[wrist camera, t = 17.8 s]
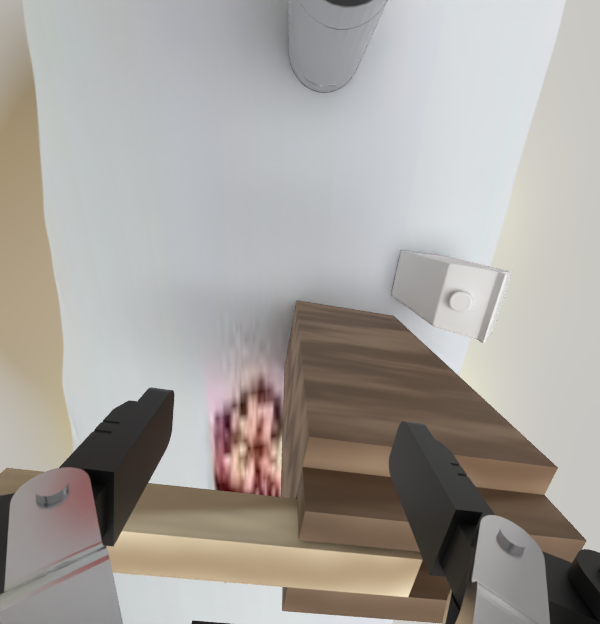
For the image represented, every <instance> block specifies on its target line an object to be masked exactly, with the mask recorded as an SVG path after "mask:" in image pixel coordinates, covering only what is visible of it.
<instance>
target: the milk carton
mask: <svg viewBox="0 0 600 624" xmlns="http://www.w3.org/2000/svg"><path fill="white" fill-rule="evenodd" d="M511 274H512V272H510V271H505V270H501V269H497V268H493V267H489V266H485V265H480V264H476V263H472V262H468V261H463V260H459V259H455V258H451V257H447V256H440V255H433V254H426V253H418V252H411V251H404V250H402V251H401V253H400V258H399V262H398V266H397V271H396V275H395V280H394V284H393V289H392V293H391V295H392V296H393V297H395V298H396V299H397V300H399V301H400V302H401V303H403V304H404V305H405V306H407V307H408V308H409V309H411V310H412V311H413V312H415V313H416V314H418V315H419V316H420V317H422V318H423V319H424V320H426V321H427V322H428V323H430V324H431V325H433V326H434V327H437V328H440V329H444V330H447V331H450V332H454V333H457V334H461V335H464V336H467V337H471V338H474V339H477V340H479V341H481V342H482V343H485V341H486V338H487V336H488V335H489V334H491V333H492V331H493V328H494V325H495V322H496V319H497V316H498V313H499V310H500V307H501V304H502V301H503V298H504V295H505V292H506V289H507V286H508V283H509V280H510V277H511Z"/></svg>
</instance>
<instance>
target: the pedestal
mask: <svg viewBox="0 0 600 624" xmlns="http://www.w3.org/2000/svg"><path fill="white" fill-rule="evenodd" d="M402 421H406V422H414V423H421V424H424V425H426V427H427V428H428V430H429V431H430V433H431V434H432V436H433V437H434V439H435V440H438V441H440V442H441V443H442V444H443V445H444V446H445V447H446V448H448V449H449V450H450V451H451V452H452V453H453V455H454V456H455V458H456V459H457V461H458V462H459V464H460V466H461V467H462V468H463V469H464V471H465V472H466V474H467V477H469V478H470V479H471V481H472V482H473V484H474V485H475V487H476V488H477V490H478V491H479V492H480V494H481V495H482V497H483V498H484V500H485V501H486V503H487V504H488V505H489V507H490V508H491V510H492V511H493V513H494V514H495V515H496V516H500V517H503V518H505V519H507V520H509V521H511V522H513V523H515V524H516V525H518V526H519V527H521V528H522V529H523V530H524V531H526V532H527V533H528V534H529V535H530V536H531V537H532V538H533V539H534V541H535V542H536V543H537V544H538V546H539V547H540V549H541V551H543V552H546V553H548V554H551V555H553V556H556V557H559V558H561V559H564V560H566V561H569V562H571V563H572V562H573V560H574V559H575V557H576V555H577V553H578V552H579V551H580V550H581V549H582V548H583V546H584V544H585V542H586V540H585V539H584V537H583V536H582V535H581V534H580V533H579V532H578V531H577V530H576V529H575V528H574V527H573V525H572V524H571V523H570V522H569V521H568V520H567V519H566V518H565V517H564V516H563V515H562V514H561V512H560V511H559V510H558V509H557V508H556V507H555V506H554V505H553V504H552V503H551V502H550V501H549V500H548V498H547V497H546V496H545V495H544V494H545V492H546V490H547V488H548V486H549V484H550V482H551V480H552V478H553V476H554V474H555V472H556V470H557V468H558V467H556V466H555V465H554V464H553V463H552V462H551V461H550V460H549V459H548V458H547V457H546V456H545V455H543V454H542V453H541V452H540V451H539V450H538V449H537V448H536V447H535V446H534V445H533V444H532V443H531V442H529V441H528V440H527V439H526V438H525V437H524V436H523V435H522V434H521V433H520V432H519V431H518V430H517V429H515V428H514V427H513V426H512V425H511V424H510V423H509V422H508V421H507V420H506V419H505V418H503V417H502V416H501V415H500V414H499V413H498V412H497V411H496V410H495V409H494V408H493V407H492V406H491V405H489V404H488V403H487V402H486V401H485V400H484V399H483V398H482V397H481V396H480V395H479V394H477V392H475V391H474V390H473V389H472V388H471V387H470V386H469V385H468V384H467V383H466V382H465V381H464V380H462V379H461V378H460V377H459V376H458V375H457V374H456V373H455V372H454V371H453V370H452V369H451V368H449V367H448V366H447V365H446V364H445V363H444V362H443V361H442V360H441V359H440V358H439V357H438V356H437V355H435V354H434V353H433V352H432V351H431V350H430V349H429V348H428V347H427V346H426V345H425V344H424V343H422V342H421V341H420V340H419V339H418V338H417V337H416V336H415V335H414V334H413V333H412V332H411V331H409V330H408V329H407V328H406V327H405V326H404V325H403V324H402V323H401V322H400V321H399V320H398V319H396V318H395V317H394V316H390V315H384V314H378V313H372V312H365V311H359V310H353V309H347V308H340V307H334V306H328V305H322V304H316V303H309V302H303V301H296V306H295V312H294V318H293V323H292V329H291V335H290V340H289V346H288V352H287V357H286V363H285V370H284V403H283V436H282V470H281V497H282V498H291V499H297V505H298V539H299V540H304V541H315V542H325V543H336V544H346V545H356V546H367V547H377V548H387V549H398V550H408V551H418V552H420V550H419V548H418V545H417V543H416V540H415V538H414V535H413V532H412V530H411V527H410V525H409V522H408V520H407V517H406V514H405V512H404V509H403V507H402V504H401V502H400V499H399V497H398V494H397V491H396V489H395V486H394V484H393V481H392V479H391V476H390V472H389V456H390V453H391V449H392V446H393V443H394V440H395V436H396V433H397V430H398V427H399V424H400V423H401V422H402ZM420 554H421V553H420ZM421 556H422V555H421ZM422 559H423V558H422ZM450 589H451V588H450V585H449V583H448V581H447V579H446V577H443V576H432V575H429V573H428V571H427V568H426V566H425V563H424V561H423V560H422V563H421V566H420V568H419V571H418V573H417V576H416V578H415V581H414V584H413V586H412V589H411V591H410V594H409V596H408V597H398V596H386V595H374V594H362V593H350V592H338V591H327V590H315V589H303V588H291V587H283V594H282V611H290V612H303V613H316V614H328V615H341V616H354V617H367V618H380V619H393V620H407V621H419V622H433V623H442V622H443V617H444V612H445V608H446V603H447V598H448V594H449V592H450Z"/></svg>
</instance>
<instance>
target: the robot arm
mask: <svg viewBox="0 0 600 624" xmlns="http://www.w3.org/2000/svg"><path fill="white" fill-rule="evenodd" d="M387 1H388V0H289V58H290V62H291V66H292V68H293V71H294V73H295V74H296V76H297V77H298V79H299V80H300V81H301V82H302V83H303V84H304V85H305V86H307V87H308V88H310V89H312V90H315V91H318V92H331V91H334V90H337V89H339V88H341V87H342V86H344V85H345V84H346V83H347V82H348V81H349V80H350V79H351V78H352V76H353V75H354V73H355V71H356V69H357V67H358V65H359V63H360V60H361V58H362V56H363V54H364V52H365V50H366V47H367V45H368V43H369V41H370V38H371V36H372V34H373V32H374V30H375V27H376V25H377V23H378V21H379V18H380V16H381V14H382V12H383V10H384V7H385V5H386V3H387ZM173 407H174V391H172V390H165V389H158V388H149V389H148V390H147V391H146V392H145V393H144V394H143V396H142V397H141V398H140V399H139V400H138V402H137V401H127V402H125V403H124V404H122V405H120V406H118V407H116V408H115V409H113V410H112V411H111V413H110V414H109V415H108V416H107V417H106V418H105V419H104V420H103V422H101V423H100V424H99V425H98V427H97V428H96V429H95V431H94V432H92V433H91V434H90V435H89V436H88V437H87V438H86V439H85V440H84V442H83V443H82V444H81V445H80V446H79V447H78V448H77V449H76V450H75V451H74V452H73V453H72V454H71V456H70V457H69V458H68V459H67V460H66V461H65V462H64V463H63V464H62V465H61V466H60V467H59V468H57V469H53V470H50V471H46V472H44V473H41V474H39V475H37V476H35V477H34V478H32V479H30V480H29V481H27V482H26V483H25V484H23V485H22V486H21V487H20V488H19V489H18V490H17V491H16V492H15V493H12V494H6V495H0V624H123V622H122V617H121V612H120V607H119V602H118V597H117V592H116V587H115V582H114V577H113V572H112V567H111V562H110V558H109V553H108V550H107V547H106V546H113V547H114V545H115V543H116V541H117V539H118V537H119V536H120V534H121V532H122V530H123V528H124V526H125V524H126V523H127V521H128V519H129V517H130V515H131V513H132V512H133V510H134V508H135V506H136V504H137V502H138V500H139V499H140V497H141V495H142V493H143V491H144V489H145V487H146V486H147V484H148V482H149V480H150V478H151V476H152V475H153V473H154V471H155V469H156V467H157V465H158V463H159V462H160V460H161V458H162V456H163V454H164V452H165V450H166V448H167V446H168V444H169V441H170V437H171V432H172V421H173ZM389 472H390V476H391V479H392V481H393V484H394V486H395V489H396V491H397V494H398V497H399V499H400V502H401V504H402V507H403V509H404V512H405V514H406V517H407V520H408V522H409V525H410V527H411V530H412V532H413V535H414V538H415V540H416V543H417V545H418V548H419V550H420V553H421V555H422V558H423V561H424V563H425V566H426V568H427V571H428V573H429V575H432V576H443V577H446V579H447V581H448V583H449V585H450V588H451V589H450V592H449V594H448V598H447V603H446V608H445V612H444V617H443V622H442V624H600V553H598V552H596V551H592V550H586V549H584V550H580V551H579V552H578V553H577V555H576V557H575V559H574V560H573V562H572V563H571V562H569V561H566V560H564V559H561V558H559V557H556V556H553V555H551V554H548V553H546V552H543V551H541V549H540V547H539V546H538V544H537V543H536V542H535V541H534V539H533V538H532V537H531V536H530V535H529V534H528V533H527V532H526V531H524V530H523V529H522V528H521V527H519V526H518V525H516V524H515V523H513V522H511V521H509V520H507V519H505V518H503V517H500V516H496V515H495V514H494V513H493V511H492V510H491V508H490V507H489V505H488V504H487V503H486V501H485V500H484V498H483V497H482V495H481V494H480V492H479V491H478V490H477V488H476V487H475V485H474V484H473V482H472V481H471V479H470V478H469V477H467V474H466V472H465V471H464V469H463V468H462V467H461V466H460V464H459V462H458V461H457V459H456V458H455V456H454V455H453V453H452V452H451V451H450V450H449V449H448V448H446V447H445V446H444V445H443V444H442V443H441V442H440V441H438V440H435V439H434V437H433V436H432V434H431V433H430V431H429V430H428V428H427V427H426V425H424V424H421V423H414V422H406V421H402V422H401V423H400V424H399V427H398V430H397V433H396V436H395V440H394V443H393V446H392V449H391V453H390V456H389ZM192 624H228V623H215V622H203V621H192Z"/></svg>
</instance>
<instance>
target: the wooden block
mask: <svg viewBox="0 0 600 624" xmlns="http://www.w3.org/2000/svg"><path fill="white" fill-rule="evenodd" d="M41 473H44V472H40V471H31V470H22V469H13V468H6V469H5V470H4V471H3V472H2V473H0V495H6V494H12V493H15V492H16V491H17V490H18V489H19V488H20V487H21V486H22V485H23V484H25V483H26V482H27V481H29V480H30V479H32V478H34V477H35V476H37V475H39V474H41ZM106 547H107V550H108V553H109V558H110V562H111V567H112V572H113V573H124V574H136V575H148V576H160V577H172V578H183V579H195V580H207V581H219V582H231V583H243V584H255V585H267V586H279V587H291V588H303V589H315V590H327V591H338V592H350V593H362V594H374V595H386V596H398V597H408V596H409V594H410V591H411V589H412V586H413V584H414V581H415V578H416V576H417V573H418V571H419V568H420V566H421V563H422V560H423V559H422V556H421V554H420V552H418V551H408V550H398V549H387V548H377V547H367V546H356V545H346V544H336V543H325V542H315V541H304V540H299V539H298V505H297V499H291V498H282V497H273V496H264V495H254V494H245V493H236V492H226V491H217V490H208V489H199V488H189V487H180V486H171V485H161V484H152V483H148V484H147V486H146V487H145V489H144V491H143V493H142V495H141V497H140V499H139V500H138V502H137V504H136V506H135V508H134V510H133V512H132V513H131V515H130V517H129V519H128V521H127V523H126V524H125V526H124V528H123V530H122V532H121V534H120V536H119V537H118V539H117V541H116V543H115V545H114V547H113V546H106Z"/></svg>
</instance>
